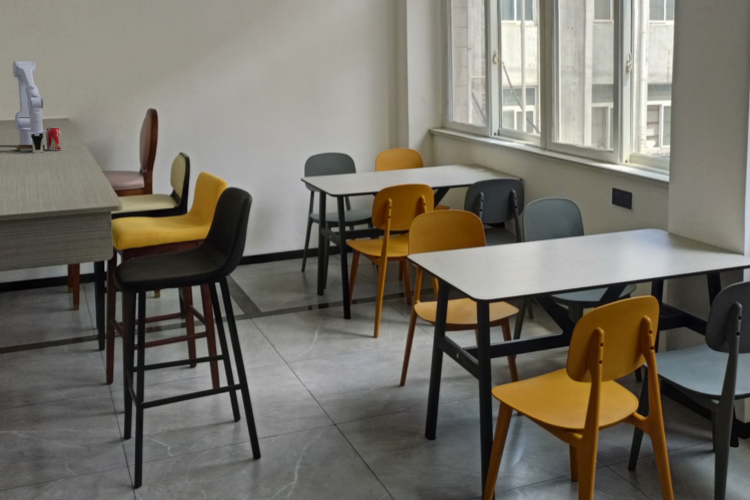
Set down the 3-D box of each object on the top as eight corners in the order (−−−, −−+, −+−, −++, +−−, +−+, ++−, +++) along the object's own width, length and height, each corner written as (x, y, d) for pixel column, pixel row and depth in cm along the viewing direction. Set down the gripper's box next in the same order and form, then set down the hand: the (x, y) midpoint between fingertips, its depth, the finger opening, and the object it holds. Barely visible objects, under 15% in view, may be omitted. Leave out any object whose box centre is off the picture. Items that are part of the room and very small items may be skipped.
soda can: (56, 151, 390) (55, 127, 387) (44, 150, 391) (42, 126, 388) (64, 150, 396) (63, 126, 393) (52, 149, 398) (51, 125, 395)
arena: (17, 149, 390) (16, 144, 390) (44, 149, 395) (44, 144, 395) (16, 151, 383) (16, 146, 383) (44, 151, 388) (44, 146, 388)
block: (32, 151, 386) (31, 139, 384) (43, 151, 388) (42, 139, 386) (32, 152, 381) (31, 140, 380) (43, 152, 383) (42, 140, 382)
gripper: (45, 123, 376) (46, 150, 379) (44, 120, 389) (46, 147, 392) (29, 122, 373) (31, 150, 376) (29, 120, 386) (31, 147, 389)
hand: (37, 148), depth 384 cm, fingers open, 7 cm apart
